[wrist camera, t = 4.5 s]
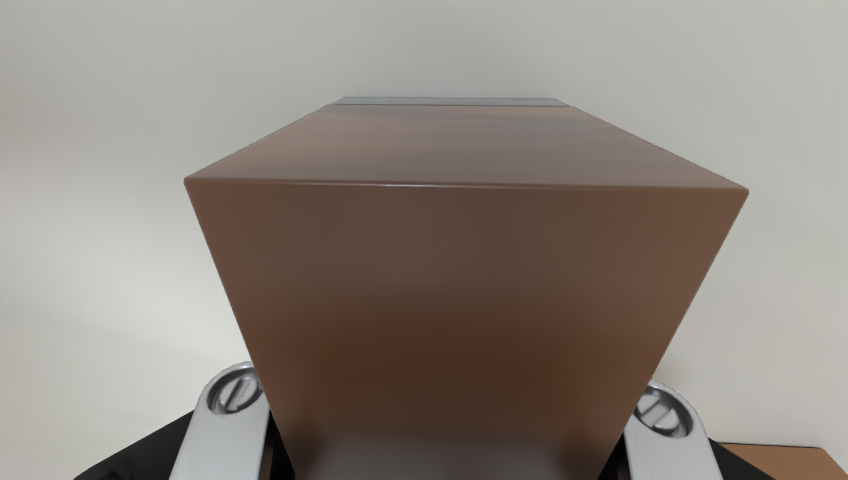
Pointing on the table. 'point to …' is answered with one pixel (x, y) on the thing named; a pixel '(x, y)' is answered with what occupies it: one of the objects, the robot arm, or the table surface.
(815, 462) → the chalkboard
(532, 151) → the eraser
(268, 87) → the table surface
